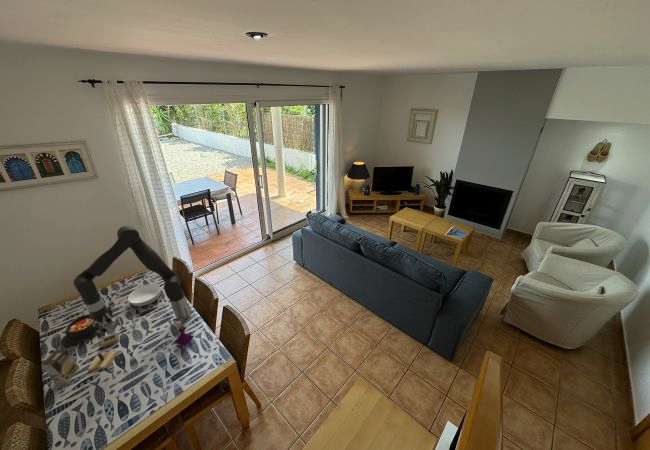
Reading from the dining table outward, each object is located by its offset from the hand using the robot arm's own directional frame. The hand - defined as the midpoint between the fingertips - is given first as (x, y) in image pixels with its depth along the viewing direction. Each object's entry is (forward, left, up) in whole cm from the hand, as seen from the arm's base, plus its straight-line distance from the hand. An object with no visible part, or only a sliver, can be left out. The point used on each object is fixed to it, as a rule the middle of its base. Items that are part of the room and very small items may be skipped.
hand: (107, 327), depth 151 cm
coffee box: (+19, +14, -18) cm, 30 cm away
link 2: (+7, -6, -18) cm, 20 cm away
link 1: (0, 0, -1) cm, 1 cm away
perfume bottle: (-40, +3, -18) cm, 44 cm away
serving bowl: (0, -42, -18) cm, 46 cm away
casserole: (+27, -17, -18) cm, 37 cm away
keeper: (+4, +8, -18) cm, 20 cm away
